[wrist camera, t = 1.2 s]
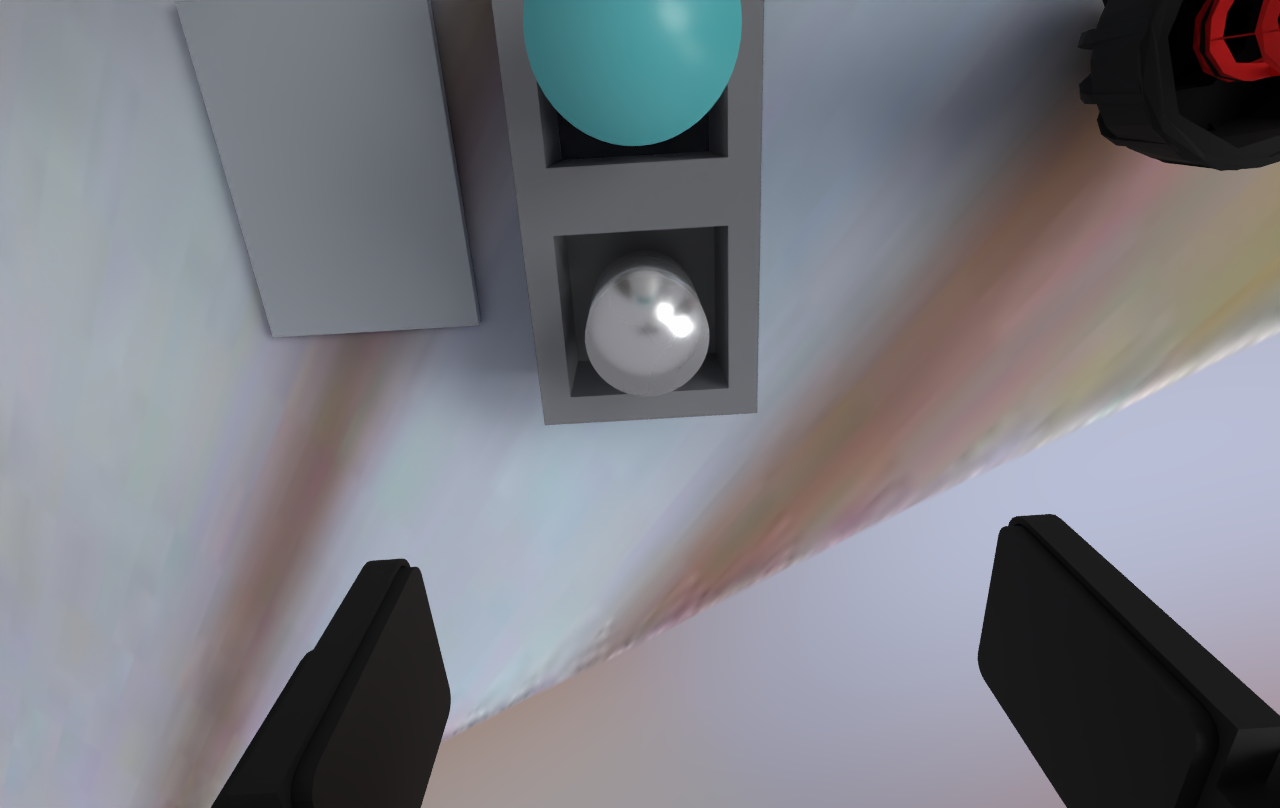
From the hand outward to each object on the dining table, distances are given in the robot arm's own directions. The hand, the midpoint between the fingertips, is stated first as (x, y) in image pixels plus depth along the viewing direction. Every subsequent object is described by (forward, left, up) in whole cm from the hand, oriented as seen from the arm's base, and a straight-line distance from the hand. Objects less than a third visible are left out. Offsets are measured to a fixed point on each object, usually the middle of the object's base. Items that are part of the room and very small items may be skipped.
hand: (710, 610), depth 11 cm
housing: (-5, -1, -23) cm, 23 cm away
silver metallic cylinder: (0, -1, -19) cm, 19 cm away
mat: (-6, -14, -23) cm, 27 cm away
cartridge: (-9, -1, -23) cm, 25 cm away
